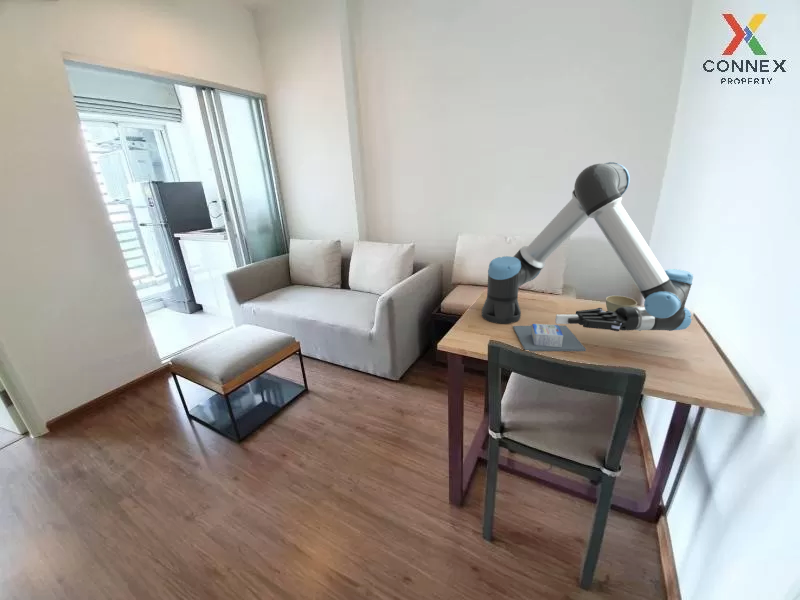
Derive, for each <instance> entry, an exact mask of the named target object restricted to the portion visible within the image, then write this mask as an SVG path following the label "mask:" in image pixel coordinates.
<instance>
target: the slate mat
mask: <svg viewBox="0 0 800 600" xmlns="http://www.w3.org/2000/svg"><path fill="white" fill-rule="evenodd" d="M558 326H559V327H560V330H561V332H562V334H563V342H562V347H552V346H537V345H534V342H533V338H532V335H531V330H532V325H513V326H512V328H513V331H514V332H515V334H516V336H517V338H518V340H519V342H520V344H521V346H522V348H523V350H524V349H525V350H529V351H528V352H586V351H587V349H586V347H585V345H583V344H582V343H581V341H580V340H579V339H578V338H577V337H576V335H575V334H574V333H573V332H572V331H571V330H570V329H569V327H568V326H567V325H558ZM525 350H524V351H525Z"/></svg>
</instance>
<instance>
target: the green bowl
mask: <svg viewBox="0 0 800 600" xmlns="http://www.w3.org/2000/svg"><path fill="white" fill-rule="evenodd" d="M637 305H638V301H636V300H635V299H634V298H632V297H629V296H624V295H610V296H609V295H608V296H606V298H605V307H606V310H607V311H613V312H614V311H616V310H617V309H618V308H620V307H637Z"/></svg>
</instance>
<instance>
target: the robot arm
mask: <svg viewBox="0 0 800 600" xmlns="http://www.w3.org/2000/svg"><path fill="white" fill-rule="evenodd" d="M630 182H631V175H630V172H629V170H628V169H627V168H626V167H625V165H622V164H620V163H618V162H617V163H616V162H611V161H610V162H605V163H595V164H592V165H589V166H587V167H586V168H584V169H582V170H581V171H580V173H579V174H578V176H577V177H576V180H575V182H574V189H573V190H572V192H571V194H572V198H571V199H570V200H569V202H567V203H566V205H565V206H564V207H563V208H562V209H561V210H560V211H559V212H558V213H557V215H556V216H554V217H553V219H551V221H550V222H549V223H548V224H547V225H546V226H545V227H544V228H543V229H542V231H541V232H540V233H538V235H537V236H536V237H535V238H534V239H533V240H532V241H531V243H530V244H529V245H527V246H526V245H524V246H522V247H521V248H520V249H519V250H518V251H517V252H516V253H515V255H513V256H507V255H506V256H505V255H504V256H501V257H500V256H499V257H495V258H493V259H492V260H490V262H489V265H488V270H487V291H486V292H487V293H486V299H485V301H484V304H483V306H482V307H481V316H482V318H483V319H484V320H486V321H487V322H490V323H493V324H500V325H501V324H502V325H507V324H508V325H509V324H514V323H517V322H518V321H520V319H521V316H522V315H521V313H522V311H521V308H520V303H519V300H518V296H519V287H521V286H522V285H525V284H526V283H528V282H531V281H533V280H535V279H536V278H537V277H538V276H539V274H540V273H541V271H542V270H543V268H545V267H546V260H548V258H549V257H550V256H551V255H552V254H554V252H556V250H557V249H559V248H560V246H561V245H562V244H564V243H565V242H566V241H567V240H568V239H570V237H571V236H572V235H573V234H574V232H576V231H577V230H578V229H579V228H580V227H581V226H582V225H583V224H584V223H585V222H586V221H587V220H588V219H589V218H590V219H594V222H595V223H596V224H597V225H598V228H599V229H600V230H601V232H602V234H603V235H604V237H605V239H606V240H607V241H608V243H609V245H610V246H611V248H612V249H613V251H614V253H615V255H616V256H617V258H618V259H619V260H620V263H622V266H623V267H624V268H625V270H626V271H627V273H628V275H629V277H630V278H631V279H632V281H633V282H634V284H635V286H636V287H637V289H638V291H639V292H640V294H641V295H642V297H643V299H644V303H643V304H644V306H636V307H620V308H618V309H617V310H616V311H614V312H613V311H605V310H603V307H597V308H591V309H584V310H583V309H582V310H576V311H575V314H572V313H571V314H563V313H562V314H561V313H560V314H555V318H554V319H555V325H579V326H582V328H584V329H585V328H589V329H596V330H597V329H599V330H609V331H615V332H619V331H638V332H641V331H667V332H668V331H669V332H672V331H681V330H683V331H684V330H686V329H688V328H689V327H690V326H691V323H692V320H693V319H692V318H691V317H692V313H691V311H690V310H689V309H688V308H687V307H685V306H686V303H687V299H688V297H689V293H690V290H691V287H692V285H693V279H694V274H693V273H692V272H690V271H687V270H682V269H676V268H674V269H671V268H669V269H664V268H663V266H662V265H661V263H660V261H658V259H657V257H656V256H655V254H654V252H653V251H652V249H651V247H650V246H649V245H648V243H647V241H646V239H645V238H644V236H643V235H642V234H641V232H640V231H639V229H638V227H637V226H636V224H635V223H634V221H633V220H632V219H631V217H630V214H628V212H627V210H626V209H625V208H624V205H622V200H623V194H625V192H626V191H627V190H628V188H629V186H630Z"/></svg>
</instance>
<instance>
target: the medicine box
mask: <svg viewBox="0 0 800 600" xmlns="http://www.w3.org/2000/svg"><path fill="white" fill-rule="evenodd" d="M531 326H532V330H531V335H532V338H533V342H534V345H537V346H552V347H562V342H563V334H562V332H561V330H560V327H559V326H560V325H559V324H546V323H545V324H544V323H543V324H542V323H541V324H540V323H532V324H531Z"/></svg>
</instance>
